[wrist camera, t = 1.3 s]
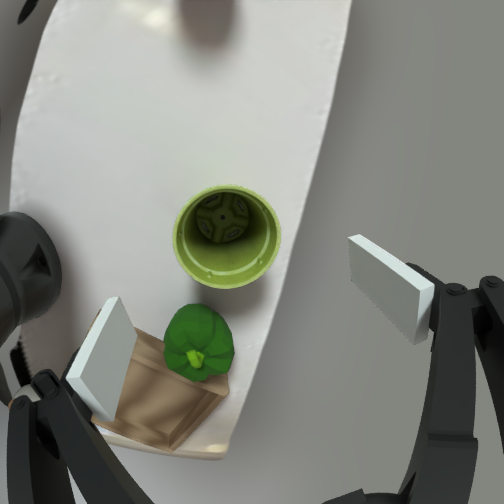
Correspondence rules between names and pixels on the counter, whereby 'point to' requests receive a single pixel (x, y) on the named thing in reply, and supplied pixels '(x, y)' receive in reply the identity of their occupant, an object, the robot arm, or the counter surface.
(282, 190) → the counter surface
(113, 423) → the walnut tray
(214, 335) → the bell pepper
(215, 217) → the plant pot
